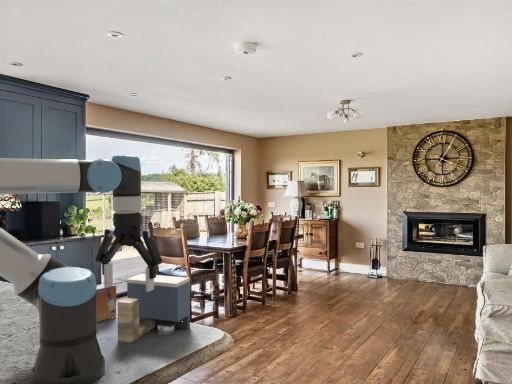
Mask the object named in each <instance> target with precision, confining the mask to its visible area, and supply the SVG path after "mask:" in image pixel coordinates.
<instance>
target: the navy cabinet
mask: <svg viewBox="0 0 512 384" xmlns="http://www.w3.org/2000/svg"><path fill="white" fill-rule="evenodd" d="M190 279H191V277H186V276H185V277H183V276H172V275H161V274H160V275H158V274H156V278H154V290H152V291H149V292H146V273H140V274H137V275H134V276H132V277H128V278H125V283H126V284H127V286H126V287H127V288H126V290H127V297H126V298H133V299H139V324H140V323H142V322H144V321H145V320H155V321H156V326H157V324H158V323H160V322H165V321H171V322H174V323H175V329H182V330H190V328H191V296H190V295H191V291H190V290H191V287H190V286H191V285H190V282H191V281H190ZM182 321H183V322H182Z"/></svg>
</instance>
